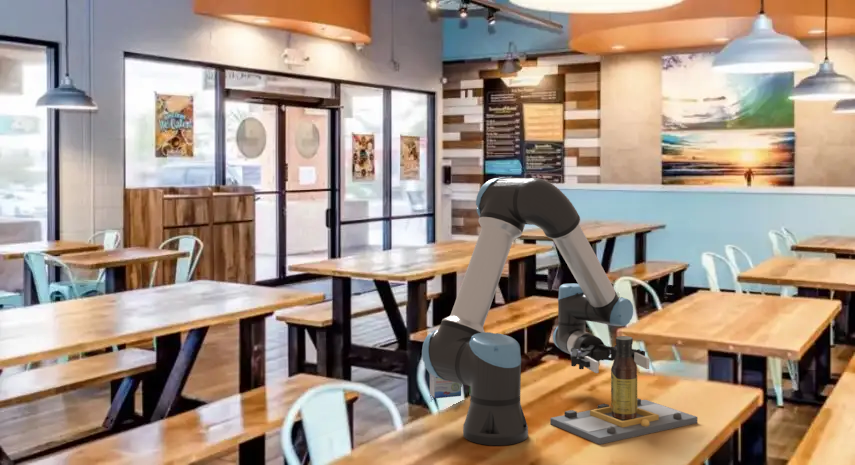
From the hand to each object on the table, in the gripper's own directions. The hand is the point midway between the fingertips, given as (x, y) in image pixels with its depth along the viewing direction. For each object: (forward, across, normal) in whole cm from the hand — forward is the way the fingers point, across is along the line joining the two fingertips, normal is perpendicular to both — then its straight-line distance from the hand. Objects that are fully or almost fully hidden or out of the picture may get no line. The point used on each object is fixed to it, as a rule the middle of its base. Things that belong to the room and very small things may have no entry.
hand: (622, 365), depth 216 cm
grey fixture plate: (+2, 0, -14) cm, 14 cm away
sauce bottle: (+2, 0, -13) cm, 13 cm away
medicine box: (-35, +36, -14) cm, 52 cm away
